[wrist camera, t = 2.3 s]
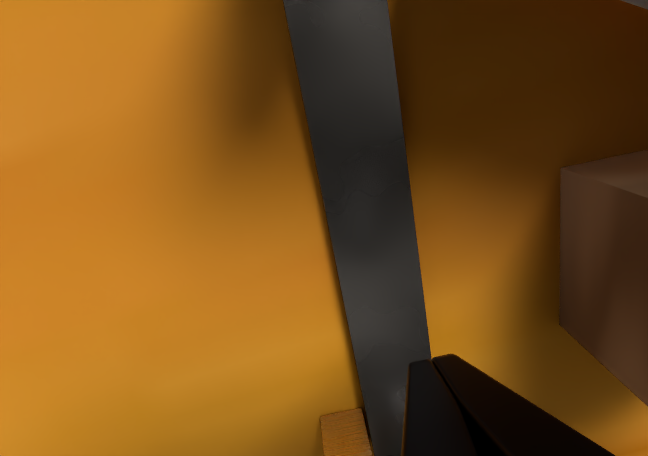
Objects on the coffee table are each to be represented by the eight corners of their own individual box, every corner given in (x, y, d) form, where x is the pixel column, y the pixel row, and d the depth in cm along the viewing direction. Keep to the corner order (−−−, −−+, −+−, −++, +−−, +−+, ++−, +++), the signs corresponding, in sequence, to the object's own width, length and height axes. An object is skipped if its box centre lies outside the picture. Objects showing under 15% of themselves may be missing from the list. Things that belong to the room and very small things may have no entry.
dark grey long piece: (166, -195, 7) (-118, -832, 2) (365, -235, 7) (549, -952, 2) (344, 514, 14) (381, 783, 8) (451, 491, 14) (552, 745, 8)
